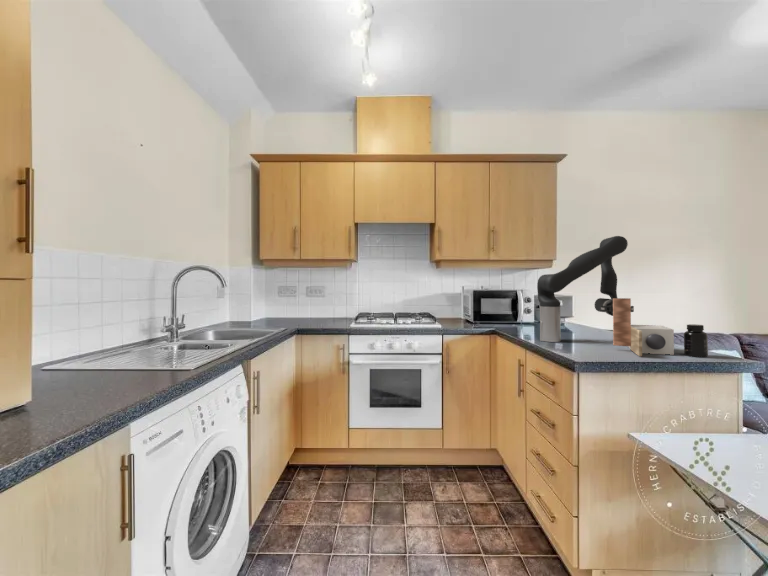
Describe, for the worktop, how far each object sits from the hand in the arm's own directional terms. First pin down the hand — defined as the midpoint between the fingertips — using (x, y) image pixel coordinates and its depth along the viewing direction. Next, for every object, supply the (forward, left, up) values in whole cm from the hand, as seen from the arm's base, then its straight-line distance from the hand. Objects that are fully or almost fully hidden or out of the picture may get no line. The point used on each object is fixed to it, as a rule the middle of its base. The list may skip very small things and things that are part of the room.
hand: (621, 310), depth 145 cm
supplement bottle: (+23, -4, -17) cm, 29 cm away
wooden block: (0, -7, -17) cm, 18 cm away
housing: (+10, +2, -17) cm, 20 cm away
